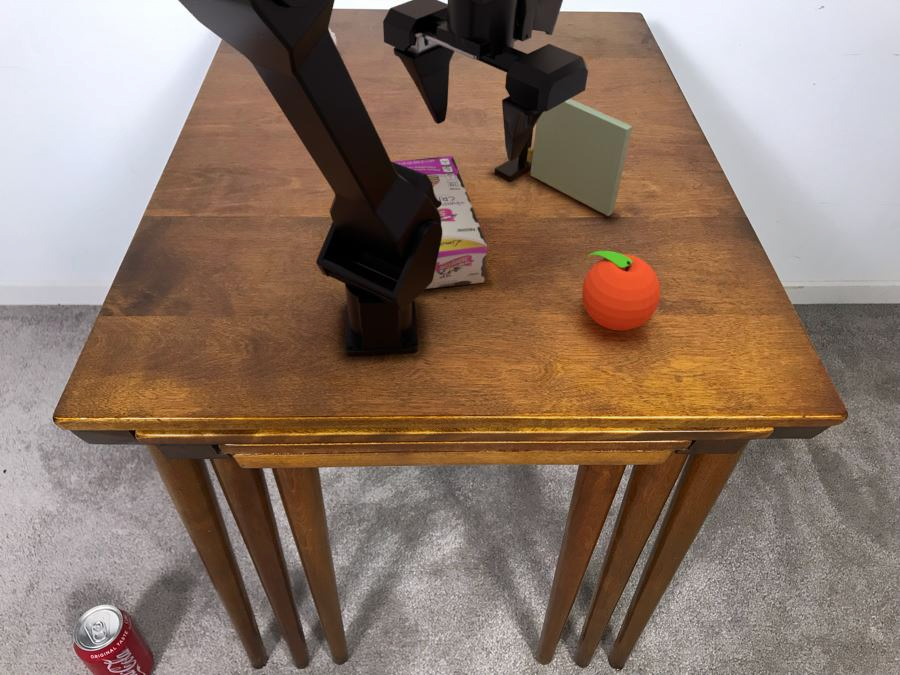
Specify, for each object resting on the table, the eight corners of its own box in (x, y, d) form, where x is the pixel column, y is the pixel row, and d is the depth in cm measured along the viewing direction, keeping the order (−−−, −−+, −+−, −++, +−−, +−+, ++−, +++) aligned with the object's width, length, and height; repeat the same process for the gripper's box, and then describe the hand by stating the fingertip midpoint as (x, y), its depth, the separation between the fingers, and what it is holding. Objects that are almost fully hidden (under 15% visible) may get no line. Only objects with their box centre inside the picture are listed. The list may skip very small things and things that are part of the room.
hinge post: (513, 184, 83) (523, 86, 74) (494, 174, 84) (501, 76, 76) (546, 165, 86) (559, 68, 77) (527, 155, 87) (537, 59, 79)
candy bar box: (453, 151, 78) (490, 244, 67) (451, 190, 82) (487, 284, 71) (351, 161, 76) (372, 258, 65) (354, 200, 80) (374, 298, 69)
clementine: (553, 313, 68) (563, 254, 63) (597, 280, 71) (610, 222, 66) (622, 358, 64) (638, 299, 59) (665, 320, 67) (684, 262, 62)
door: (608, 216, 78) (626, 129, 71) (530, 175, 84) (539, 90, 76) (615, 211, 79) (635, 124, 71) (537, 170, 84) (548, 86, 77)
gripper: (644, -34, 55) (607, 145, 66) (467, -88, 64) (461, 79, 75) (555, 4, 49) (532, 193, 61) (374, -61, 58) (383, 115, 69)
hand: (475, 139), depth 67 cm, fingers open, 9 cm apart
